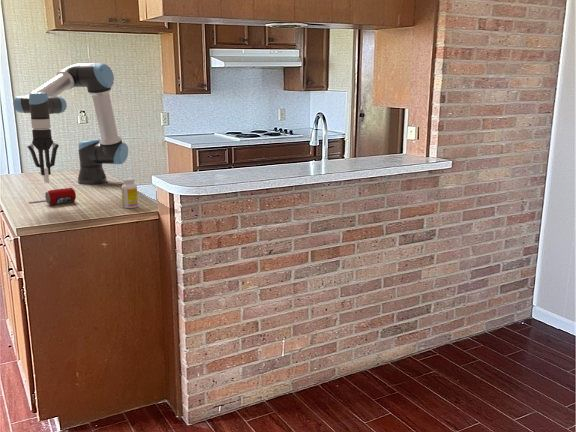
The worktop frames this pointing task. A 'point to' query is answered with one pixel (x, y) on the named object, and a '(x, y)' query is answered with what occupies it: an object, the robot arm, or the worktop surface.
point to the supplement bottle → (129, 193)
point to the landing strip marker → (38, 201)
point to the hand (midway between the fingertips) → (46, 182)
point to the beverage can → (60, 196)
